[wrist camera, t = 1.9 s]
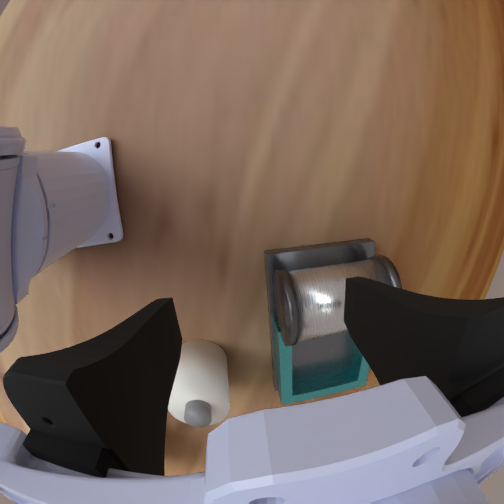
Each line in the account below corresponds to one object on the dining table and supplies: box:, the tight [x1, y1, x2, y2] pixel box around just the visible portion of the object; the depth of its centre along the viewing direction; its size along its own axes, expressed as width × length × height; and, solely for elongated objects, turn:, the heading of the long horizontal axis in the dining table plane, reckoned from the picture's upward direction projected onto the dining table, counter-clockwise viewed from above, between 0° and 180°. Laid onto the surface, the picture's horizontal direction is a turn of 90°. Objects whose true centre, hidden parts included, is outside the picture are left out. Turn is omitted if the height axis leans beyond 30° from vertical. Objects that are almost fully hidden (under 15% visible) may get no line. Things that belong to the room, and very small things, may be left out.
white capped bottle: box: [168, 340, 230, 427], centre depth 20 cm, size 5×5×7 cm
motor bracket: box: [264, 238, 402, 404], centre depth 21 cm, size 10×14×6 cm
